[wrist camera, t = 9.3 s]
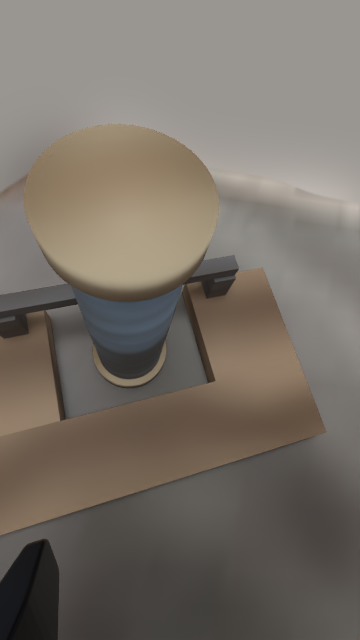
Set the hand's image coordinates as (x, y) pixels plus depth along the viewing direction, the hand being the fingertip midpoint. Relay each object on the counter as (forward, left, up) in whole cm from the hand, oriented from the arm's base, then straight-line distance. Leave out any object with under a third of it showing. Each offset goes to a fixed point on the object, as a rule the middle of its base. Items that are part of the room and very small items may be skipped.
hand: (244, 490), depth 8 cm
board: (+3, +4, -10) cm, 11 cm away
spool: (+4, +5, -10) cm, 12 cm away
